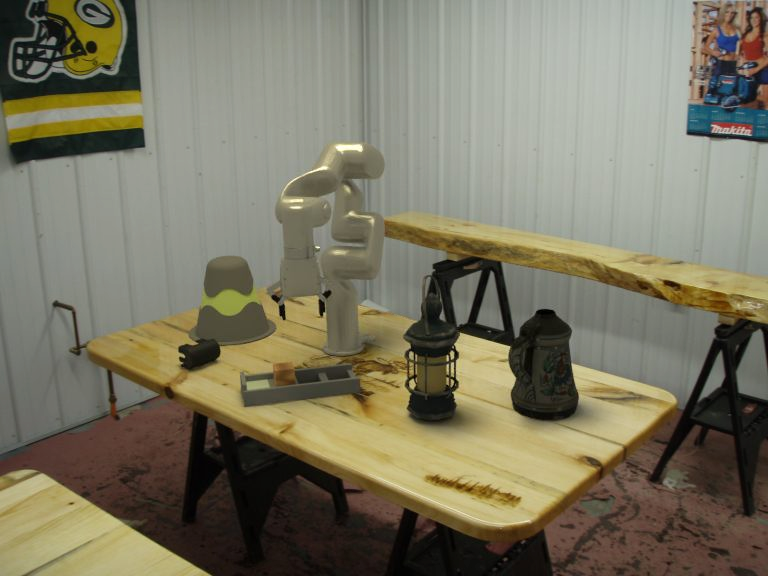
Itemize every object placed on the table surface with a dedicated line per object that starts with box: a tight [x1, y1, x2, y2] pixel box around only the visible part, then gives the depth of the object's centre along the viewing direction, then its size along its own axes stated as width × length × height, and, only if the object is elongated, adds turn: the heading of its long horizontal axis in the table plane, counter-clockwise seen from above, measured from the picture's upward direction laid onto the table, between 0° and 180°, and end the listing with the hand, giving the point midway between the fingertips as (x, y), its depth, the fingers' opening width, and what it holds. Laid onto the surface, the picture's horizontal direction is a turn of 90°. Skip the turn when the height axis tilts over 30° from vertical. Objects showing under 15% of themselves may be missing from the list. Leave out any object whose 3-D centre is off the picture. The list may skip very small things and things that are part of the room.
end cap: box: [177, 339, 222, 370], centre depth 225 cm, size 10×7×7 cm
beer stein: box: [507, 308, 580, 421], centre depth 189 cm, size 16×19×25 cm
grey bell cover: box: [188, 255, 277, 346], centre depth 250 cm, size 28×28×24 cm
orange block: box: [272, 361, 295, 387], centre depth 204 cm, size 5×5×5 cm
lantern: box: [402, 274, 461, 421], centre depth 186 cm, size 14×13×35 cm
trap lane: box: [239, 362, 361, 408], centre depth 205 cm, size 30×11×6 cm, turn 104°
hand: (302, 316), depth 201 cm, fingers open, 9 cm apart
